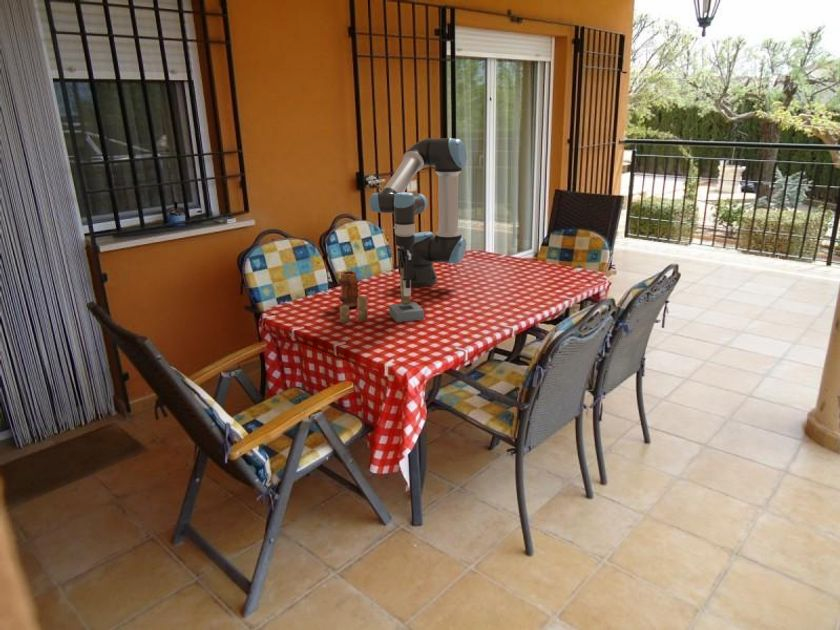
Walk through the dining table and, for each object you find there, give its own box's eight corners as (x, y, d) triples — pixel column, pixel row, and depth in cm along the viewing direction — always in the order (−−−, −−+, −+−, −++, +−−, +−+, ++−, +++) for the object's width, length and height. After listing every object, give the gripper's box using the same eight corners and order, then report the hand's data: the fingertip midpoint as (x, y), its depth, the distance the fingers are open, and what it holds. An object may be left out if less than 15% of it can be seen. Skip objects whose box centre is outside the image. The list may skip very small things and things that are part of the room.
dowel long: (408, 301, 246) (408, 267, 241) (411, 304, 243) (411, 269, 238) (400, 302, 245) (399, 267, 240) (402, 305, 242) (401, 270, 237)
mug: (337, 303, 262) (335, 268, 257) (356, 301, 265) (355, 267, 260) (346, 314, 249) (344, 277, 244) (366, 311, 252) (364, 275, 247)
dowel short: (348, 319, 243) (347, 304, 241) (350, 322, 239) (349, 307, 238) (339, 320, 242) (338, 305, 240) (341, 323, 238) (340, 308, 236)
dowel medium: (366, 317, 245) (365, 295, 242) (368, 320, 241) (367, 298, 238) (357, 318, 244) (356, 296, 241) (359, 321, 240) (358, 299, 237)
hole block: (415, 310, 252) (415, 302, 251) (423, 319, 242) (423, 310, 241) (389, 313, 249) (388, 304, 248) (396, 322, 239) (396, 313, 238)
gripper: (389, 231, 241) (390, 289, 249) (401, 239, 226) (402, 301, 234) (407, 229, 244) (408, 287, 251) (420, 238, 229) (421, 299, 236)
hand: (405, 294), depth 242 cm, fingers closed on dowel long, 3 cm apart
